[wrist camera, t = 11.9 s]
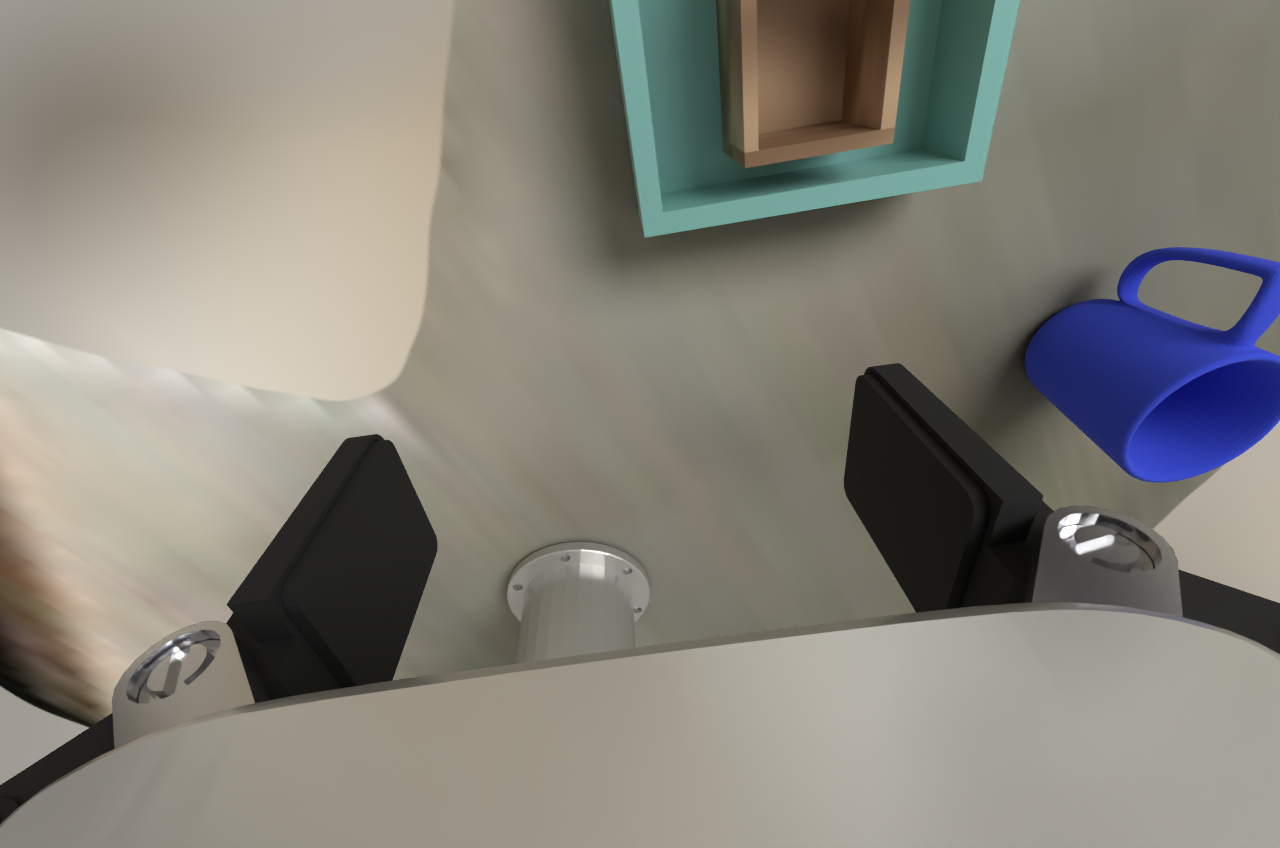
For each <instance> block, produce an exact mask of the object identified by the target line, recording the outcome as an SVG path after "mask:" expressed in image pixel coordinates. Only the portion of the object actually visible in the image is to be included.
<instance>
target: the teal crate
mask: <svg viewBox="0 0 1280 848" xmlns="http://www.w3.org/2000/svg"><path fill="white" fill-rule="evenodd" d="M608 1H609V8H610V15H611V22H612V29H613V36H614V44H615V51H616V58H617V65H618V72H619V79H620V86H621V93H622V100H623V107H624V114H625V121H626V128H627V135H628V142H629V149H630V156H631V163H632V170H633V177H634V184H635V191H636V198H637V205H638V212H639V217H640V221H641V225H642V229H643V233H644V237H645V238H646V237H652V236H658V235H664V234H670V233H676V232H682V231H688V230H694V229H700V228H706V227H712V226H718V225H724V224H729V223H735V222H741V221H747V220H753V219H759V218H765V217H771V216H777V215H783V214H789V213H795V212H801V211H807V210H813V209H819V208H825V207H830V206H836V205H842V204H848V203H854V202H860V201H866V200H872V199H878V198H884V197H890V196H896V195H902V194H908V193H914V192H920V191H925V190H931V189H937V188H943V187H949V186H955V185H961V184H967V183H973V182H979V181H982V177H983V173H984V168H985V163H986V158H987V154H988V149H989V144H990V140H991V135H992V130H993V125H994V121H995V116H996V111H997V106H998V102H999V97H1000V92H1001V88H1002V83H1003V78H1004V73H1005V69H1006V64H1007V59H1008V54H1009V50H1010V45H1011V40H1012V36H1013V31H1014V26H1015V21H1016V17H1017V12H1018V7H1019V3H1020V0H910V7H909V15H908V23H907V32H906V40H905V48H904V57H903V65H902V73H901V82H900V90H899V98H898V107H897V115H896V123H895V132H894V140H893V143H892V144H886V145H880V146H874V147H868V148H862V149H856V150H850V151H844V152H838V153H832V154H826V155H820V156H814V157H808V158H802V159H796V160H791V161H785V162H779V163H773V164H767V165H761V166H755V167H749V168H744V167H743V166H741V165H740V164H739V163H737V162H736V161H735V160H734V159H732V158H731V157H730V156H728V155H727V154H726V153H724V152H723V141H722V120H721V99H720V78H719V56H718V35H717V14H716V0H608Z"/></svg>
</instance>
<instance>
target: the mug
mask: <svg viewBox="0 0 1280 848" xmlns="http://www.w3.org/2000/svg"><path fill="white" fill-rule="evenodd" d="M1170 260H1185V261H1194V262H1201V263H1206V264H1211V265H1216V266H1221V267H1225V268H1229V269H1233V270H1237V271H1241V272H1245V273H1249V274H1253V275H1256V276H1259V277H1261V278H1262V279H1263V283H1262V285H1261V287H1260V289H1259V291H1258V293H1257V295H1256V296H1255V298H1254V300H1253V301H1252V303H1251V305H1250V306H1249V308H1248V309H1247V310H1246V312H1245V313H1244V315H1243V316H1242V318H1241V319H1240V320H1239V321H1238V322H1237V324H1236V325H1235V326H1234V327H1232V328H1231V329H1230V330H1227V331H1221V330H1217V329H1213V328H1209V327H1205V326H1202V325H1198V324H1195V323H1192V322H1189V321H1186V320H1183V319H1180V318H1178V317H1175V316H1172V315H1169V314H1167V313H1164V312H1161V311H1159V310H1156V309H1154V308H1151V307H1149V306H1147V305H1144V304H1143V303H1141V302H1140V301H1139V300H1138V298H1137V292H1138V288H1139V285H1140V283H1141V281H1142V279H1143V278H1144V276H1145V275H1146V273H1147V272H1148V271H1149V270H1150V269H1151V268H1153V267H1154V266H1155V265H1157V264H1159V263H1161V262H1164V261H1170ZM1117 293H1118V297H1119V299H1120V301H1117V300H1111V299H1094V300H1087V301H1083V302H1080V303H1077V304H1074V305H1072V306H1070V307H1068V308H1066V309H1063V310H1062V311H1060V312H1059V313H1057V314H1056V315H1054V316H1053V317H1051V318H1050V319H1049V320H1048V321H1047V322H1046V323H1045V324H1044V325H1043V326H1042V327H1041V328H1040V329H1039V330H1038V331H1037V332H1036V334H1035V335H1034V337H1033V338H1032V340H1031V342H1030V343H1029V346H1028V348H1027V351H1026V355H1025V370H1026V373H1027V376H1028V378H1029V379H1030V381H1031V383H1032V384H1033V385H1034V386H1035V387H1036V388H1037V389H1038V391H1040V392H1041V393H1042V394H1043V395H1044V396H1045V397H1046V398H1047V399H1048V400H1049V401H1050V402H1051V403H1052V404H1053V405H1055V406H1056V407H1057V408H1058V409H1059V410H1060V411H1061V412H1062V413H1063V414H1064V415H1065V416H1066V417H1067V418H1069V419H1070V420H1071V421H1072V422H1073V423H1074V424H1075V425H1076V426H1077V427H1078V428H1079V429H1080V430H1081V431H1082V432H1084V433H1085V434H1086V435H1087V436H1088V437H1089V438H1090V439H1091V440H1092V441H1093V442H1094V443H1095V444H1096V445H1097V446H1099V447H1100V448H1101V449H1102V450H1103V451H1104V452H1105V453H1106V454H1107V455H1108V456H1109V457H1110V458H1111V459H1112V460H1114V461H1115V462H1116V463H1117V464H1118V465H1119V466H1120V467H1121V468H1122V469H1123V470H1124V471H1125V472H1126V473H1128V474H1129V475H1131V476H1132V477H1134V478H1137V479H1139V480H1142V481H1147V482H1172V481H1179V480H1183V479H1187V478H1191V477H1194V476H1197V475H1200V474H1203V473H1206V472H1208V471H1211V470H1213V469H1215V468H1217V467H1219V466H1221V465H1223V464H1225V463H1227V462H1229V461H1231V460H1232V459H1234V458H1235V457H1237V456H1239V455H1241V454H1242V453H1244V452H1245V451H1246V450H1248V449H1249V448H1251V447H1252V446H1253V445H1255V444H1256V443H1257V442H1258V441H1260V440H1261V439H1262V438H1263V437H1264V436H1265V435H1266V434H1268V433H1269V432H1270V431H1271V430H1272V429H1273V427H1274V426H1275V425H1276V424H1277V423H1278V422H1279V420H1280V356H1277V355H1275V354H1272V353H1270V352H1267V351H1265V350H1262V349H1260V348H1258V347H1256V346H1254V344H1255V342H1256V341H1257V339H1258V338H1259V337H1260V336H1261V335H1262V334H1263V333H1264V332H1265V331H1266V330H1267V328H1268V327H1269V326H1270V325H1271V324H1272V323H1273V321H1274V320H1275V319H1276V318H1277V317H1278V315H1279V314H1280V262H1275V261H1270V260H1266V259H1261V258H1257V257H1252V256H1247V255H1242V254H1237V253H1231V252H1225V251H1219V250H1211V249H1202V248H1184V247H1176V248H1164V249H1157V250H1152V251H1149V252H1146V253H1144V254H1142V255H1140V256H1138V257H1136V258H1135V259H1134V260H1133V261H1132V262H1131V263H1130V264H1129V265H1128V266H1127V267H1126V268H1125V270H1124V271H1123V273H1122V275H1121V277H1120V280H1119V283H1118V287H1117Z"/></svg>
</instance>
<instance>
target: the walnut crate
mask: <svg viewBox="0 0 1280 848" xmlns="http://www.w3.org/2000/svg"><path fill="white" fill-rule="evenodd" d="M909 7H910V0H716V14H717V35H718V56H719V78H720V99H721V120H722V141H723V152H724V153H726V154H727V155H728V156H730V157H731V158H732V159H734V160H735V161H736V162H737V163H739V164H740V165H741V166H743V167H744V168H749V167H755V166H761V165H767V164H773V163H779V162H785V161H791V160H796V159H802V158H808V157H814V156H820V155H826V154H832V153H838V152H844V151H850V150H856V149H862V148H868V147H874V146H880V145H886V144H892V143H893V140H894V132H895V123H896V115H897V107H898V98H899V90H900V82H901V73H902V65H903V57H904V48H905V40H906V32H907V23H908V15H909Z"/></svg>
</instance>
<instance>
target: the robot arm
mask: <svg viewBox="0 0 1280 848" xmlns="http://www.w3.org/2000/svg"><path fill="white" fill-rule="evenodd" d="M844 488H845V493H846V496H847V498H848V500H849V501H850V503H851V505H852V506H853V508H854V510H855V511H856V513H857V515H858V516H859V518H860V520H861V521H862V523H863V525H864V526H865V528H866V530H867V531H868V533H869V535H870V536H871V538H872V539H873V541H874V543H875V544H876V546H877V548H878V549H879V551H880V553H881V554H882V556H883V558H884V559H885V561H886V563H887V564H888V566H889V568H890V569H891V571H892V573H893V574H894V576H895V578H896V579H897V581H898V583H899V584H900V586H901V588H902V589H903V591H904V593H905V594H906V596H907V598H908V599H909V601H910V603H911V604H912V606H913V608H914V609H915V611H916V613H909V614H900V615H891V616H882V617H873V618H865V619H857V620H849V621H841V622H833V623H825V624H817V625H809V626H801V627H793V628H785V629H778V630H770V631H762V632H754V633H746V634H738V635H730V636H722V637H714V638H707V639H699V640H691V641H684V642H676V643H668V644H661V645H653V646H645V647H638V648H636V644H635V627H634V622H636V621H637V620H638V619H639V618H640V617H641V616H642V614H643V613H644V612H645V610H646V608H647V606H648V604H649V599H650V585H649V580H648V576H647V574H646V572H645V570H644V568H643V567H642V566H641V565H640V564H639V563H638V562H637V561H636V560H635V559H634V558H632V557H631V556H630V555H628V554H627V553H625V552H622V551H620V550H618V549H616V548H613V547H610V546H606V545H603V544H597V543H590V542H570V543H561V544H557V545H553V546H549V547H546V548H543V549H541V550H539V551H536V552H534V553H532V554H531V555H529V556H528V557H526V558H525V559H523V560H522V561H521V562H520V563H519V564H518V565H517V566H516V568H515V569H514V571H513V572H512V574H511V576H510V579H509V583H508V589H507V601H508V605H509V607H510V610H511V612H512V613H513V614H514V616H515V617H516V618H517V619H518V620H519V621H520V622H521V626H520V633H519V640H518V647H517V654H516V661H515V664H510V665H503V666H496V667H488V668H481V669H474V670H466V671H459V672H452V673H445V674H437V675H430V676H423V677H415V678H408V679H401V680H393V677H394V674H395V671H396V668H397V665H398V663H399V660H400V657H401V654H402V651H403V648H404V645H405V642H406V640H407V637H408V634H409V631H410V628H411V625H412V622H413V619H414V617H415V614H416V611H417V608H418V605H419V602H420V599H421V596H422V594H423V591H424V588H425V585H426V582H427V579H428V576H429V573H430V571H431V568H432V565H433V562H434V559H435V556H436V553H437V538H436V535H435V532H434V530H433V528H432V526H431V524H430V522H429V519H428V517H427V515H426V513H425V511H424V509H423V507H422V504H421V502H420V500H419V498H418V496H417V494H416V491H415V489H414V487H413V485H412V483H411V481H410V478H409V476H408V474H407V472H406V470H405V468H404V465H403V463H402V461H401V459H400V457H399V455H398V452H397V450H396V448H395V446H394V444H393V443H392V442H391V441H390V440H384V439H383V438H382V437H381V436H380V435H377V434H375V435H367V436H360V437H353V438H347V439H346V440H345V441H344V442H343V443H342V444H341V446H340V447H339V449H338V450H337V451H336V453H335V454H334V456H333V457H332V458H331V460H330V461H329V463H328V464H327V465H326V467H325V468H324V470H323V471H322V472H321V474H320V475H319V477H318V478H317V479H316V481H315V482H314V484H313V485H312V486H311V488H310V489H309V490H308V492H307V493H306V495H305V496H304V497H303V499H302V500H301V502H300V503H299V504H298V506H297V507H296V509H295V510H294V511H293V513H292V514H291V516H290V517H289V518H288V520H287V521H286V523H285V524H284V525H283V527H282V528H281V530H280V531H279V532H278V534H277V535H276V536H275V538H274V539H273V541H272V542H271V543H270V545H269V546H268V548H267V549H266V550H265V552H264V553H263V555H262V556H261V557H260V559H259V560H258V562H257V563H256V564H255V566H254V567H253V569H252V570H251V571H250V573H249V574H248V575H247V577H246V578H245V580H244V581H243V582H242V584H241V585H240V587H239V588H238V589H237V591H236V592H235V594H234V595H233V596H232V598H231V599H230V601H229V602H228V603H227V605H228V607H229V608H230V609H231V610H232V611H233V614H232V616H231V617H230V619H229V620H228V622H227V623H226V624H225V623H222V622H219V621H206V622H200V623H197V624H194V625H190V626H187V627H185V628H183V629H181V630H178V631H176V632H174V633H172V634H170V635H168V636H167V637H165V638H164V639H162V640H161V641H159V642H158V643H156V644H154V645H153V646H151V647H150V648H149V649H148V650H147V651H146V652H144V653H143V654H142V655H141V656H140V657H138V658H137V659H136V660H135V661H134V662H133V663H132V665H131V666H130V667H129V668H128V669H127V670H126V671H125V672H124V674H123V675H122V677H121V678H120V680H119V682H118V684H117V685H116V687H115V689H114V694H113V698H112V712H113V713H112V714H110V715H109V716H107V717H106V718H104V719H103V720H101V721H99V722H98V723H96V724H95V725H93V726H92V727H90V728H89V729H87V730H86V731H84V732H82V733H81V734H79V735H78V736H76V737H75V738H73V739H71V740H70V741H68V742H67V743H65V744H64V745H62V746H61V747H59V748H57V749H56V750H55V751H53V752H51V753H50V754H48V755H47V756H45V757H44V758H42V759H40V760H39V761H37V762H36V763H34V764H33V765H31V766H30V767H28V768H26V769H25V770H23V771H22V772H20V773H19V774H17V775H16V776H14V777H13V778H11V779H10V780H8V781H6V782H5V783H3V784H2V785H0V848H1280V603H1277V602H1274V601H1271V600H1268V599H1265V598H1262V597H1259V596H1256V595H1253V594H1250V593H1247V592H1244V591H1241V590H1238V589H1235V588H1232V587H1229V586H1226V585H1223V584H1220V583H1217V582H1214V581H1211V580H1208V579H1205V578H1202V577H1199V576H1196V575H1193V574H1190V573H1187V572H1184V571H1181V570H1178V561H1177V558H1176V556H1175V553H1174V550H1173V548H1172V547H1171V546H1170V545H1169V544H1168V543H1167V542H1166V540H1165V539H1164V538H1163V537H1162V536H1160V535H1159V534H1158V533H1156V532H1155V531H1154V530H1152V529H1151V528H1149V527H1148V526H1147V525H1145V524H1143V523H1141V522H1139V521H1137V520H1135V519H1133V518H1131V517H1129V516H1126V515H1123V514H1120V513H1117V512H1114V511H1111V510H1107V509H1101V508H1096V507H1091V506H1070V507H1065V508H1060V509H1058V510H1056V511H1053V510H1052V509H1051V508H1050V507H1048V506H1047V505H1046V504H1045V503H1044V502H1043V501H1042V498H1043V495H1042V494H1041V493H1040V492H1039V491H1038V490H1037V489H1036V488H1035V487H1034V486H1033V485H1031V484H1030V483H1029V482H1028V481H1027V480H1026V479H1025V478H1024V477H1023V476H1022V475H1021V474H1020V473H1018V472H1017V471H1016V470H1015V469H1014V468H1013V467H1012V466H1011V465H1010V464H1009V463H1008V462H1007V461H1005V460H1004V459H1003V458H1002V457H1001V456H1000V455H999V454H998V453H997V452H996V451H995V450H994V449H992V448H991V447H990V446H989V445H988V444H987V443H986V442H985V441H984V440H983V439H982V438H981V437H979V436H978V435H977V434H976V433H975V432H974V431H973V430H972V429H971V428H970V427H969V426H968V425H967V424H965V423H964V422H963V421H962V420H961V419H960V418H959V417H958V416H957V415H956V414H955V413H954V412H952V411H951V410H950V409H949V408H948V407H947V406H946V405H945V404H944V403H943V402H942V401H941V400H939V399H938V398H937V397H936V396H935V395H934V394H933V393H932V392H931V391H930V390H929V389H928V388H926V387H925V386H924V385H923V384H922V383H921V382H920V381H919V380H918V379H917V378H916V377H915V376H913V375H912V374H911V373H910V372H909V371H908V370H907V369H906V368H905V367H904V366H903V365H901V364H899V363H895V364H888V365H881V366H873V367H869V368H867V369H866V371H865V373H864V375H861V376H859V377H858V378H857V380H856V384H855V392H854V401H853V409H852V417H851V425H850V434H849V442H848V450H847V458H846V467H845V475H844ZM392 680H393V681H392Z"/></svg>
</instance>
